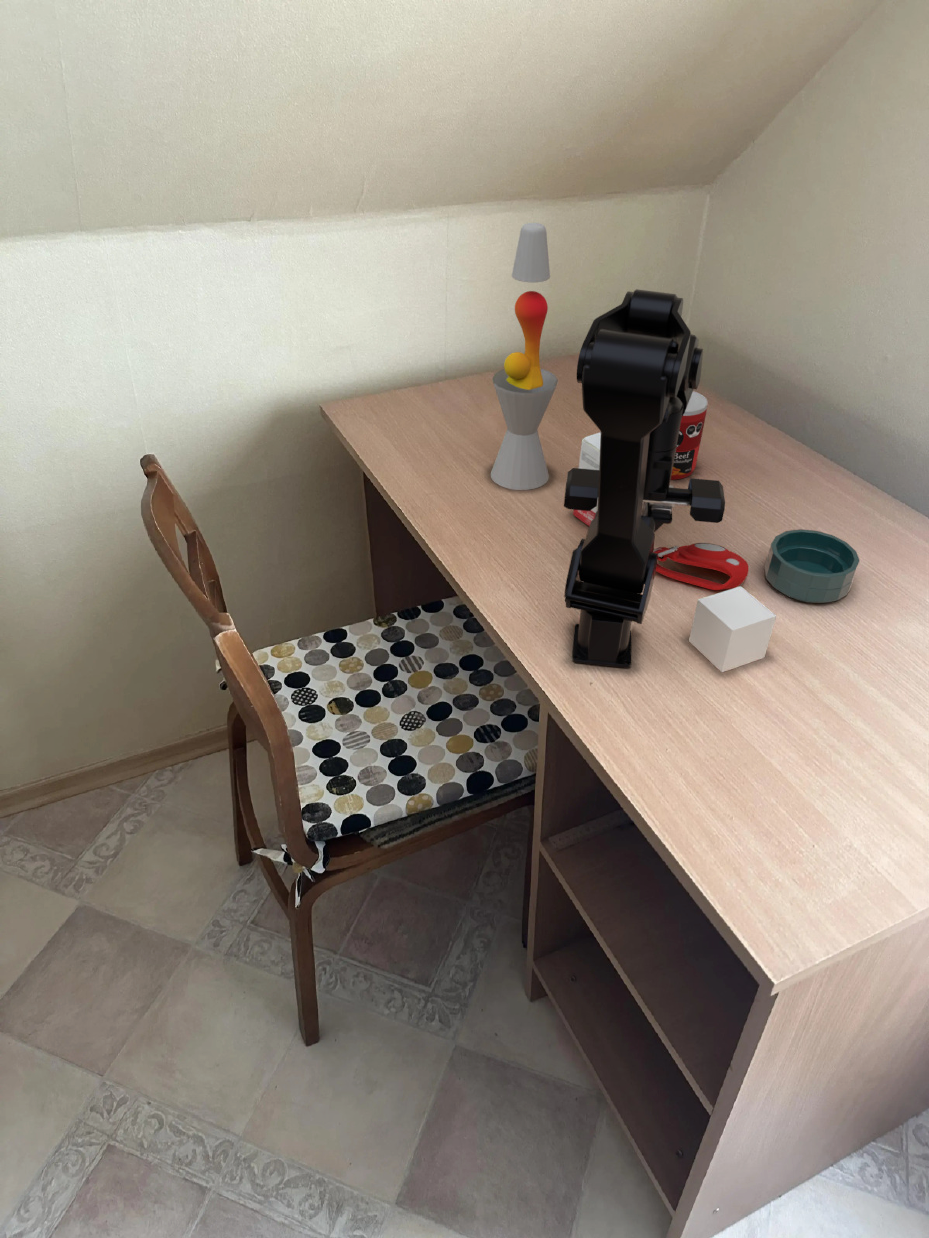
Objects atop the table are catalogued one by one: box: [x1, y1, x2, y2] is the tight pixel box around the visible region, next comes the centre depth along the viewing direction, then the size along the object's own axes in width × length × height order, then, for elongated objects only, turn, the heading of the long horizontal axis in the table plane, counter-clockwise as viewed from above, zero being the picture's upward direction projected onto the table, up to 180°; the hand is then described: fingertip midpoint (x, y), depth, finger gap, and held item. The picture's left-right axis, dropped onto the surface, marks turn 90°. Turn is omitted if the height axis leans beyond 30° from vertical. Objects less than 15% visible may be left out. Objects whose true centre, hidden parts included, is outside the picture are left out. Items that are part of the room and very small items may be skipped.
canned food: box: [670, 390, 709, 481], centre depth 131 cm, size 8×8×11 cm
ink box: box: [572, 431, 601, 527], centre depth 120 cm, size 8×5×12 cm, turn 123°
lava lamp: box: [490, 222, 559, 491], centre depth 122 cm, size 9×9×35 cm
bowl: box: [764, 528, 860, 604], centre depth 111 cm, size 10×10×4 cm
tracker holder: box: [653, 542, 749, 591], centre depth 112 cm, size 12×4×10 cm
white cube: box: [688, 585, 777, 673], centre depth 100 cm, size 6×6×6 cm
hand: (634, 553), depth 113 cm, fingers closed
